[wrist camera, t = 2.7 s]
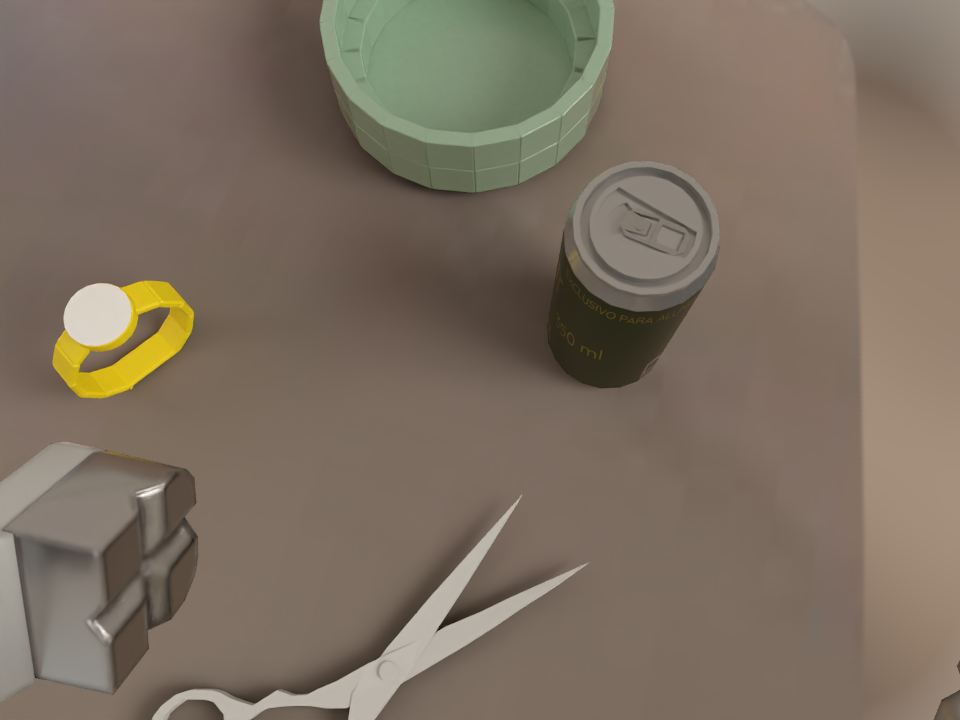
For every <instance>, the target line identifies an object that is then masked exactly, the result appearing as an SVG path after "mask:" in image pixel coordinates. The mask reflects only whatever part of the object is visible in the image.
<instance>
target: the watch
mask: <svg viewBox="0 0 960 720" xmlns="http://www.w3.org/2000/svg"><path fill="white" fill-rule="evenodd" d="M158 307H170V313H169V315H168V317H167V318H166V320H165V321H164V323H163V325H162V326H161V328H160V329H159V331H158V332H157V333H156V334H154V335H153V336H152V337H150V338H149V339H148V340H146V341H145V342H144V343H142V344H141V345H139V346H138V347H137V348H135V349H134V350H133V351H131V352H130V353H129V354H127V355H126V356H125V357H123V358H122V359H120V360H119V361H118V362H116V363H115V364H114V365H112V366H109V367H106V368H103V369H99V370H96V371H93V372H89V373H83V372H79V369H80V364H81V363H82V362H83V360H84V359H85V358H86V356H87V355H88V354H89V352H90V351H102V352H103V351H108V350H112V349H115V348H117V347H118V346H120V345H122V344H123V343H125V342H126V341H127V340H128V339H129V338H130V337H131V335H132V334H133V332H134V330H135V328H136V326H137V321H138V315H139V314H141V313H144V312H147V311H150V310H152V309H155V308H158ZM193 312H194V311H193V310H192V309H191V308H190V307H189V305H188V304H187V303H186V302H185V301H184V300H183V298H182V297H181V296H180V295H179V294H178V293H177V292H176V291H175V290H174V289H173V287H172V286H171V285H170V284H169V283H166V282H160V281H143V282H142V281H139V282H136V283H133V284H130V285H127V286H124V287H121V288H120V287H117V286H115V285H112V284H105V283H97V284H93V285H89V286H86V287H85V288H83V289H81V290H79V291H78V292H77V293H76V294H75V295H74V296H73V297H72V298H71V299H70V300H69V302H68V304H67V306H66V308H65V312H64V317H63V318H64V325H65V331H64V332H63V334H62V335H61V336H60V338H59V339H58V340H57V343H56V345H55V350H54V357H53V363H52V364H53V367H54V368H55V369H56V370H57V372H58V373H59V374H60V376H61V377H62V378H63V379H64V381H65V382H66V383H67V384H68V386H69V387H70V388H71V389H72V390H73V391H74V392H75V393H76V394H77V395H78V396H79V397H83V398H103V397H104V398H106V397H109V396H112V395H115V394H118V393H121V392H123V391H126V390H128V389H129V388H130V390H131V389H132V388H133V385H134V384H136V383H137V382H138V381H140V380H141V379H142V378H144V377H145V376H146V375H148V374H149V373H151V372H152V371H153V370H155V369H156V368H157V367H159V366H160V365H161V364H163V363H164V362H165V361H167V360H168V359H169V358H171V357H172V356H173V355H175V354H176V353H177V352H179V351H180V350H181V348H182V346H183V345H184V343H185V342H186V340H187V339H188V337H189V336H190V334H191V331H192V327H193V319H194V313H193Z"/></svg>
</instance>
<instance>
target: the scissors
mask: <svg viewBox="0 0 960 720" xmlns="http://www.w3.org/2000/svg"><path fill="white" fill-rule="evenodd" d="M522 495H523V494H522ZM522 495H521V497H522ZM521 497H520V498H521ZM520 498H519V499H518V500H517V501H516V502H515V503H514V504H513V505H512V507H511V508H510V509H509V510H508V511H507V512H506V513H505V514H504V515H503V517H502V518H501V519H500V520H499V521H498V522H497V523H496V524H495V525H494V527H493V528H492V529H491V530H490V531H489V532H488V533H487V534H486V535H485V537H484V538H483V539H482V540H481V541H480V542H479V543H478V544H477V545H476V547H475V548H474V549H473V550H472V551H471V552H470V553H469V554H468V555H467V557H466V558H465V559H464V560H463V561H462V562H461V563H460V564H459V565H458V567H457V568H456V569H455V570H454V571H453V572H452V573H451V574H450V575H449V577H448V578H447V579H446V580H445V581H444V582H443V583H442V584H441V585H440V587H439V588H438V589H437V590H436V591H435V592H434V593H433V594H432V595H431V597H430V598H429V599H428V600H427V601H426V602H425V604H424V605H423V606H422V607H421V608H420V610H419V611H418V612H417V613H416V614H415V615H414V617H413V618H412V619H411V620H410V621H409V622H408V624H407V625H406V626H405V627H404V628H403V629H402V631H401V632H400V633H399V634H398V635H397V637H396V638H395V639H394V640H393V641H392V642H391V644H390V645H389V646H388V647H387V648H386V650H385V651H384V652H383V654H382V655H381V656H380V658H379V659H377V660H375V661H372V662H370V663H368V664H366V665H364V666H363V667H361V668H359V669H357V670H355V671H354V672H352V673H350V674H348V675H347V676H345V677H343V678H341V679H339V680H338V681H336V682H333V683H331V684H329V685H326V686H324V687H322V688H319V689H317V690H315V691H313V692H311V693H309V694H294V693H291V692H288V691H285V690H282V689H279V690H277V691H275V692H274V693H272V694H270V695H269V696H267V697H266V698H264V699H262V700H261V701H259V702H258V703H256V704H255V703H251V702H248V701H245V700H242V699H239V698H236V697H234V696H232V695H230V694H229V693H227V692H225V691H222V690H219V689H198V688H196V689H192V690H188V691H185V692H182V693H179V694H176V695H174V696H173V697H172V698H171V699H169V700H168V701H167V702H166V703H164V704H163V705H162V706H161V707H160V708H159V709H158V711H157V712H156V713H155V715H154V716H153V718H152V720H167V719H168V717H169V715H170V713H171V712H172V711H173V710H174V709H176V708H177V707H178V706H179V705H181V704H182V703H183V702H185V701H186V700H187V699H195V700H208V701H212V702H214V703H215V705H216V706H217V707H218V708H219V709H220V711H221V712H222V713H223V714H224V720H251V719H253V718H254V717H255V716H257V715H258V714H260V713H261V712H263V711H264V710H265V709H267V708H274V707H282V706H314V707H320V708H348V707H350V712H349V717H348V720H375V719H376V717H377V716H378V715H379V713H380V712H381V711H382V709H383V708H384V706H385V705H386V704H387V702H388V701H389V700H390V698H391V697H392V696H393V694H394V693H395V691H396V690H397V689H398V687H399V686H400V685H401V683H403V682H405V681H406V680H408V679H410V678H411V677H413V676H415V675H417V674H418V673H420V672H422V671H423V670H425V669H427V668H428V667H430V666H432V665H434V664H435V663H437V662H439V661H440V660H442V659H444V658H445V657H447V656H449V655H450V654H452V653H454V652H456V651H457V650H459V649H461V648H462V647H464V646H466V645H467V644H469V643H470V642H472V641H473V640H475V639H477V638H478V637H480V636H481V635H483V634H484V633H486V632H488V631H489V630H491V629H492V628H494V627H495V626H497V625H498V624H500V623H501V622H503V621H504V620H506V619H507V618H508V617H510V616H511V615H513V614H514V613H516V612H517V611H519V610H520V609H522V608H523V607H525V606H526V605H528V604H530V603H531V602H533V601H534V600H536V599H537V598H539V597H540V596H542V595H544V594H545V593H547V592H548V591H550V590H551V589H553V588H554V587H556V586H557V585H559V584H560V583H562V582H563V581H565V580H566V579H567V578H569V577H570V576H571V575H573V574H574V573H576V572H577V571H578V570H580V569H581V568H583V567H584V566H585V565H587V564H588V563H587V564H584V565H582V566H580V567H578V568H575V569H573V570H571V571H569V572H566V573H564V574H562V575H560V576H557V577H555V578H553V579H551V580H548V581H546V582H544V583H542V584H539V585H537V586H535V587H533V588H530V589H528V590H526V591H524V592H521V593H519V594H517V595H515V596H512V597H510V598H508V599H506V600H504V601H502V602H500V603H498V604H496V605H494V606H492V607H490V608H488V609H485V610H483V611H481V612H479V613H477V614H474V615H472V616H470V617H467V618H465V619H462V620H460V621H458V622H455V623H453V624H451V625H448V626H446V627H444V628H442V629H441V630H439V631H437V632H436V630H437V629H438V627H439V626H440V624H441V623H442V621H443V620H444V618H445V617H446V615H447V614H448V612H449V610H450V609H451V607H452V606H453V604H454V603H455V601H456V600H457V598H458V597H459V595H460V594H461V592H462V591H463V589H464V587H465V586H466V584H467V583H468V581H469V580H470V578H471V576H472V575H473V573H474V572H475V570H476V568H477V567H478V565H479V564H480V562H481V560H482V559H483V557H484V556H485V554H486V552H487V551H488V549H489V548H490V546H491V545H492V543H493V541H494V540H495V538H496V537H497V535H498V533H499V532H500V530H501V529H502V527H503V525H504V524H505V522H506V521H507V519H508V517H509V516H510V514H511V513H512V511H513V509H514V508H515V506H516V505H517V503H518V501H519V500H520ZM435 632H436V633H435Z"/></svg>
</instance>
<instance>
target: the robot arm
mask: <svg viewBox="0 0 960 720" xmlns="http://www.w3.org/2000/svg"><path fill="white" fill-rule="evenodd" d="M195 504H196V492H195V480H194V477H193V476H192V475H191V474H190V473H189V471H188V470H187V469H183V468H179V467H175V466H171V465H166V464H162V463H158V462H153V461H149V460H145V459H141V458H136V457H132V456H128V455H123V454H119V453H115V452H111V451H106V450H105V451H102V450H100V449H97V448H92V447H87V446H83V445H78V444H73V443H68V442H59V443H51V444H50V445H49V446H47V447H46V448H45V449H44V450H42V451H41V452H40V453H38V454H37V455H36V456H34V457H33V458H32V459H30V460H29V461H28V462H27V463H25V464H24V465H23V466H21V467H20V468H19V469H17V470H16V471H15V472H14V473H12V474H11V475H10V476H8V477H7V478H6V479H4V480H3V481H2V482H1V483H0V702H2V701H4V700H5V699H7V698H9V697H11V696H13V695H14V694H16V693H18V692H20V691H21V690H23V689H25V688H27V687H28V686H30V685H32V684H34V683H35V678H38V679H42V680H47V681H51V682H56V683H61V684H65V685H70V686H75V687H79V688H84V689H88V690H93V691H98V692H102V693H107V694H111V695H114V693H115V692H116V691H117V689H118V688H119V687H120V686H121V684H122V683H123V682H124V680H125V679H126V678H127V676H128V675H129V674H130V673H131V671H132V670H133V669H134V667H135V666H136V665H137V663H138V662H139V661H140V660H141V658H142V657H143V656H144V654H145V653H146V652H147V650H148V649H149V643H148V630H149V629H152V628H154V627H156V626H158V625H160V624H162V623H165V622H167V621H169V620H171V619H172V617H173V616H174V615H175V613H176V612H177V611H178V609H179V608H180V606H181V605H182V604H183V602H184V601H185V599H186V596H187V594H188V591H189V589H190V586H191V584H192V582H193V579H194V577H195V572H196V566H197V560H198V536H197V535H196V533H195V532H194V530H193V529H192V527H191V526H190V525H189V523H188V522H187V520H186V519H185V516H186V515H187V513H188V512H189V511H190V510H191V509H192V508H193V506H194V505H195ZM957 667H958V670H959V672H960V661H959V663H958V665H957ZM934 720H960V690H959V691H957V692H955V693H953V694H952V695H950V696H948V697H946V698H944V699H942V700H941V703H940V706H939V708H938V710H937V713H936V715H935V718H934Z"/></svg>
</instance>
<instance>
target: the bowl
mask: <svg viewBox="0 0 960 720" xmlns="http://www.w3.org/2000/svg"><path fill="white" fill-rule="evenodd" d="M614 13H615V10H614V4H613V1H612V0H323V4H322V9H321V15H320V20H319V26H320V32H321V38H322V43H323V49H324V54H325V60H326V64H327V67H328V70H329V73H330V77H331V80H332V83H333V87H334V90H335V93H336V96H337V100H338V103H339V106H340V109H341V112H342V115H343V117H344V119H345V121H346V122H347V124H348V126H349V127H350V129H351V131H352V132H353V134H354V136H355V137H356V139H357V141H358V142H359V144H360V146H361V147H362V148H363V149H364V150H366V151H367V152H368V153H369V154H370V155H372V156H373V157H374V158H375V159H376V160H378V161H379V162H380V163H381V164H382V165H384V166H385V167H386V168H387V169H388V170H390V171H391V172H393V173H394V174H396V175H399V176H401V177H403V178H406V179H408V180H411V181H413V182H416V183H418V184H421V185H423V186H426V187H428V188H431V189H432V188H433V189H439V190H450V191H460V192H471V193H475V192H476V193H478V192H483V191H488V190H493V189H498V188H503V187H508V186H514V185H517V184H520V183H522V182H524V181H526V180H528V179H530V178H532V177H534V176H535V175H537V174H539V173H541V172H543V171H545V170H547V169H549V168H551V167H553V166H554V165H556V164H558V163H559V162H560V161H561V159H562V158H563V157H564V156H565V155H566V154H567V153H568V152H569V151H570V150H571V149H572V148H573V147H574V146H575V145H576V144H577V143H578V142H579V141H580V140H581V139H582V138H583V137H584V135H585V134H586V132H587V129H588V127H589V125H590V123H591V121H592V119H593V117H594V115H595V113H596V110H597V108H598V106H599V104H600V101H601V97H602V92H603V87H604V83H605V78H606V73H607V68H608V63H609V58H610V53H611V48H612V38H613V26H614Z"/></svg>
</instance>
